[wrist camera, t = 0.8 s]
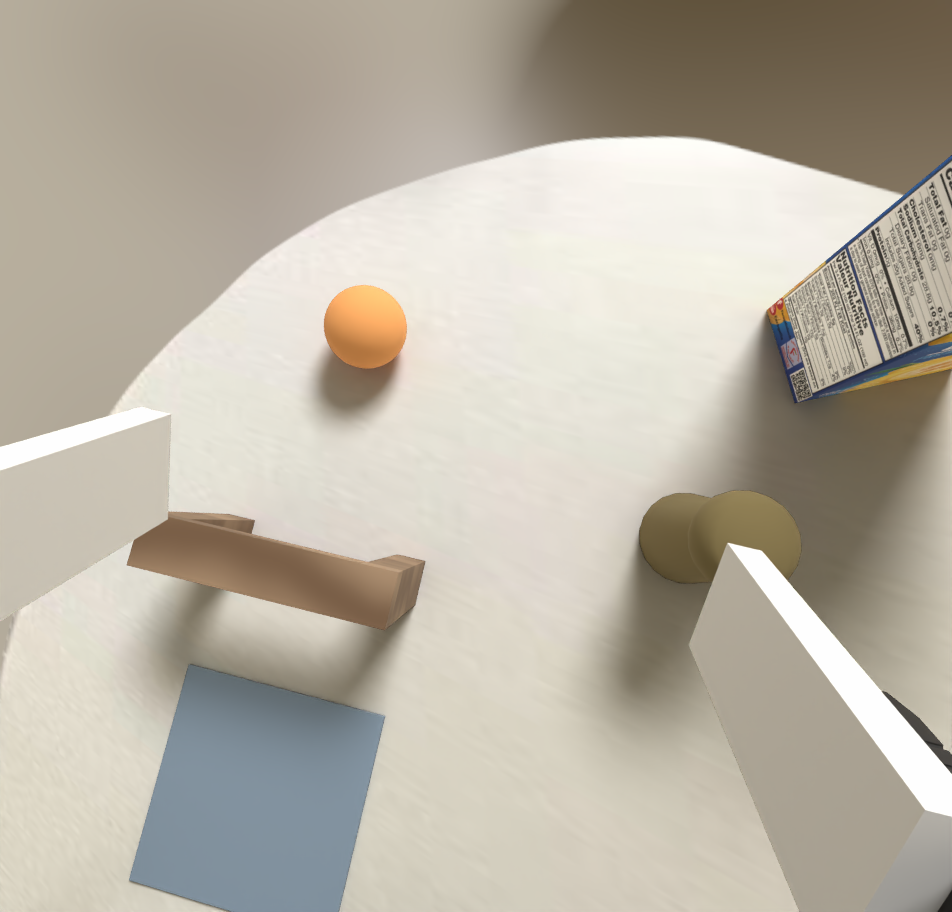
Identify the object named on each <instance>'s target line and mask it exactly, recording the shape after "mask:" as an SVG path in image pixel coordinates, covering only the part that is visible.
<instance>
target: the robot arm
mask: <svg viewBox="0 0 952 912" xmlns="http://www.w3.org/2000/svg"><path fill="white" fill-rule="evenodd" d="M170 433H171V414H169V413H164V412H160V411H156V410H151V409H147V408H143V407H139V408H135V409H132V410H128V411H125V412H121V413H118V414H114V415H111V416H107V417H104V418H100V419H97V420H93V421H90V422H86V423H83V424H79V425H76V426H72V427H69V428H65V429H62V430H59V431H55V432H51V433H48V434H44V435H41V436H37V437H34V438H30V439H27V440H23V441H21V442H17V443H13V444H10V445H6V446H3V447H0V621H1V620H3V619H5V618H6V617H8V616H10V615H11V614H13V613H15V612H16V611H18V610H20V609H21V608H23V607H25V606H26V605H28V604H30V603H31V602H33V601H34V600H36V599H38V598H39V597H41V596H43V595H44V594H46V593H48V592H49V591H51V590H53V589H54V588H56V587H57V586H59V585H61V584H62V583H64V582H66V581H67V580H69V579H71V578H72V577H74V576H76V575H77V574H79V573H80V572H82V571H84V570H85V569H87V568H89V567H90V566H92V565H94V564H95V563H97V562H99V561H100V560H102V559H103V558H105V557H107V556H108V555H110V554H112V553H113V552H115V551H117V550H118V549H120V548H122V547H123V546H125V545H126V544H128V543H130V542H131V541H133V540H135V539H136V538H138V537H140V536H141V535H143V534H145V533H146V532H148V531H149V530H151V529H153V528H154V527H156V526H158V525H159V524H161V523H163V522H164V521H166V520H168V497H169V465H170ZM689 648H690V650H691V652H692V655H693V657H694V660H695V662H696V664H697V667H698V669H699V672H700V674H701V676H702V679H703V681H704V684H705V686H706V688H707V691H708V693H709V696H710V698H711V700H712V703H713V705H714V708H715V710H716V712H717V715H718V717H719V720H720V722H721V724H722V727H723V729H724V732H725V734H726V736H727V739H728V741H729V744H730V746H731V748H732V751H733V753H734V756H735V758H736V760H737V763H738V765H739V768H740V770H741V772H742V775H743V777H744V780H745V782H746V785H747V787H748V789H749V792H750V794H751V797H752V799H753V801H754V804H755V806H756V809H757V811H758V813H759V816H760V818H761V821H762V823H763V825H764V828H765V830H766V833H767V835H768V837H769V840H770V842H771V845H772V847H773V849H774V852H775V854H776V857H777V859H778V861H779V864H780V866H781V869H782V871H783V873H784V876H785V878H786V881H787V883H788V885H789V888H790V890H791V893H792V895H793V897H794V900H795V902H796V905H797V907H798V909H799V912H952V754H951V753H950V752H949V751H947V750H944V749H943V744H942V743H941V742H940V741H939V740H938V739H937V738H936V736H935V735H934V734H933V733H932V732H931V731H930V730H929V729H928V727H927V726H926V725H925V724H924V723H923V722H922V721H921V719H920V718H919V717H917V716H916V715H915V714H913V713H912V712H911V711H910V710H908V709H907V708H906V707H905V706H903V705H902V704H901V703H900V702H898V701H897V700H896V699H894V698H893V697H892V696H891V695H889V694H888V693H887V692H884V691H881V690H880V689H879V688H878V687H877V686H876V685H875V683H874V682H873V681H872V680H871V679H870V677H869V676H868V675H867V674H866V673H865V672H864V670H863V669H862V668H861V667H860V666H859V665H858V663H857V662H856V661H855V660H854V659H853V658H852V656H851V655H850V654H849V653H848V652H847V650H846V649H845V648H844V647H843V646H842V645H841V643H840V642H839V641H838V640H837V639H836V638H835V636H834V635H833V634H832V633H831V632H830V630H829V629H828V628H827V627H826V626H825V625H824V623H823V622H822V621H821V620H820V619H819V618H818V616H817V615H816V614H815V613H814V612H813V610H812V609H811V608H810V607H809V606H808V605H807V603H806V602H805V601H804V600H803V599H802V598H801V596H800V595H799V594H798V593H797V592H796V590H795V589H794V588H793V587H792V586H791V585H790V583H789V582H788V581H787V580H786V579H785V578H784V576H783V575H782V574H781V573H780V572H779V571H778V569H777V568H776V567H775V566H774V565H773V563H772V562H771V561H770V560H769V559H768V558H767V556H766V555H765V554H764V553H763V552H762V551H761V550H756V549H752V548H748V547H743V546H739V545H735V544H730V543H727V545H726V548H725V550H724V553H723V556H722V558H721V561H720V564H719V566H718V569H717V572H716V574H715V577H714V579H713V582H712V585H711V587H710V590H709V593H708V595H707V598H706V600H705V603H704V606H703V608H702V611H701V614H700V616H699V619H698V621H697V624H696V627H695V629H694V632H693V635H692V637H691V640H690V643H689Z"/></svg>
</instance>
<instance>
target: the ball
mask: <svg viewBox="0 0 952 912" xmlns="http://www.w3.org/2000/svg"><path fill="white" fill-rule="evenodd" d="M324 332H325V336H326V339H327V342H328V344H329V346H330V348H331V349H332V351H333V352H334V353H335V354H336V355H337V357H339V358H340V359H341V360H342V361H344V362H345V363H347V364H349V365H351V366H354V367H358V368H364V369H370V368H376V367H380V366H383V365H385V364H387V363H389V362H390V361H391V360H393V359H394V358H395V357H396V356H397V355H398V353H399V352H400V350H401V349H402V347H403V345H404V342H405V339H406V333H407V324H406V319H405V315H404V313H403V310H402V308H401V306H400V305H399V304H398V302H397V301H396V300H395V299H394V298H393V297H392V296H391V295H390V294H388V293H387V292H386V291H384V290H382V289H380V288H377V287H374V286H368V285H360V286H354V287H350V288H348V289H345V290H344V291H342V292H340V293H339V294H338V295H337V296H336V297H335V298H334V299H333V300H332V301H331V303H330V304H329V306H328V308H327V311H326V314H325V318H324Z"/></svg>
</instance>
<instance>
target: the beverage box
mask: <svg viewBox="0 0 952 912" xmlns="http://www.w3.org/2000/svg"><path fill="white" fill-rule="evenodd" d="M767 313H768V316H769V320H770V323H771V326H772V330H773V333H774V336H775V340H776V343H777V346H778V350H779V353H780V356H781V359H782V363H783V366H784V369H785V373H786V376H787V379H788V383H789V386H790V389H791V393H792V396H793V399H794V403H799V402H803V401H808V400H812V399H817V398H822V397H826V396H831V395H835V394H840V393H844V392H849V391H853V390H858V389H863V388H867V387H872V386H876V385H881V384H885V383H890V382H894V381H899V380H904V379H908V378H913V377H917V376H922V375H926V374H931V373H935V372H940V371H945V370H949V369H952V155H951V156H950V157H949V158H948V159H947V160H945V161H944V162H943V163H942V164H941V165H939V166H938V167H937V168H936V169H935V170H934V171H932V172H931V173H930V174H929V175H928V176H926V177H925V178H924V179H923V180H922V181H921V182H919V183H918V184H917V185H916V186H914V187H913V188H912V189H911V190H910V191H908V192H907V193H906V194H905V195H904V196H902V197H901V198H900V199H899V200H898V201H896V202H895V203H894V204H893V205H892V206H891V207H889V208H888V209H887V210H886V211H885V212H883V213H882V214H881V215H880V216H879V217H877V218H876V219H875V220H874V221H873V222H871V223H870V224H869V225H868V226H867V227H865V228H864V229H863V230H862V231H861V232H859V233H858V234H857V235H856V236H855V237H854V238H852V239H851V240H850V241H849V242H848V243H846V244H845V245H844V246H843V247H842V248H840V249H839V250H838V251H837V252H836V253H834V254H833V255H832V256H831V257H830V258H828V259H827V260H826V261H825V262H824V263H822V264H821V265H820V266H819V267H818V268H817V269H815V270H814V271H813V272H812V273H811V274H809V275H808V276H807V277H806V278H805V279H803V280H802V281H801V282H800V283H799V284H797V285H796V286H795V287H794V288H793V289H791V290H790V291H789V292H788V293H787V294H785V295H784V296H783V297H782V298H781V299H780V300H778V301H777V302H776V303H775V304H774V305H772V306H771V307H770V308H769V309H768V310H767Z"/></svg>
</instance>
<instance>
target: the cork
mask: <svg viewBox="0 0 952 912" xmlns="http://www.w3.org/2000/svg"><path fill="white" fill-rule="evenodd" d="M727 543H730V544H735V545H739V546H743V547H748V548H752V549H756V550H761V551H762V552H763V553H764V554H765V555H766V556H767V558H768V559H769V560H770V561H771V562H772V563H773V565H774V566H775V567H776V568H777V569H778V571H779V572H780V573H781V574H782V575H783V576H784V578H785V579H786V580H788V579H789V578H790V576H791V575H792V573H793V572H794V570H795V569H796V567H797V566H798V562H799V558H800V554H801V535H800V532H799V530H798V527H797V525H796V522H795V520H794V518H793V517H792V516H791V515H790V513H789V512H788V511H787V510H786V508H785V507H784V506H782V505H781V504H779V503H778V502H776V501H775V500H773V499H772V498H771V497H768V496H766V495H763V494H760V493H756V492H753V491H729V492H726V493H723V494H720V495H717V496H714V497H713V498H709V497H704V496H700V495H695V494H691V493H676V494H672V495H669V496H666V497H663V498H661V499H660V500H659V501H657V502H656V503H654V504H653V505H652V506H651V507H650V508H649V510H648V511H647V513H646V514H645V515H644V517H643V520H642V524H641V527H640V546H641V549H642V552H643V555H644V557H645V559H646V560H647V562H648V563H649V564H650V566H651V567H652V568H653V570H655V571H656V572H657V573H659V574H660V575H661V576H663V577H664V578H666V579H669V580H672V581H675V582H678V583H702V582H713V579H714V577H715V574H716V572H717V569H718V566H719V564H720V561H721V558H722V556H723V553H724V550H725V548H726V545H727Z"/></svg>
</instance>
